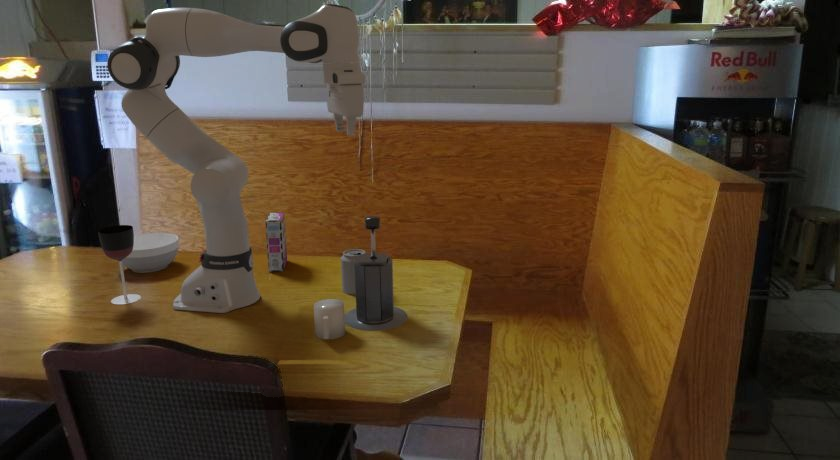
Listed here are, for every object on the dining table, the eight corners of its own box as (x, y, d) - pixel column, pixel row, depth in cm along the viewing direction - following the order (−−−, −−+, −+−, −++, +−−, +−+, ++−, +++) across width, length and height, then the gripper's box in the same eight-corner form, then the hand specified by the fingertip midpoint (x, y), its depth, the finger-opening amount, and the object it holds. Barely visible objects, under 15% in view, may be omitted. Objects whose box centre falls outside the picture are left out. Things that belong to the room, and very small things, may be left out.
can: (364, 298, 169) (363, 256, 165) (338, 296, 170) (336, 255, 167) (372, 288, 176) (371, 248, 172) (347, 286, 177) (345, 247, 174)
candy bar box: (285, 271, 190) (281, 220, 186) (268, 272, 190) (264, 221, 185) (288, 260, 201) (284, 211, 196) (272, 261, 200) (269, 212, 196)
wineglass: (149, 295, 172) (139, 226, 166) (122, 307, 164) (112, 235, 159) (128, 291, 175) (118, 223, 170) (102, 302, 167) (90, 231, 162)
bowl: (167, 277, 186) (163, 249, 184) (105, 277, 187) (101, 250, 184) (190, 257, 205) (187, 232, 202) (134, 258, 205) (130, 232, 203)
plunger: (360, 272, 148) (358, 221, 144) (362, 264, 154) (360, 214, 150) (385, 272, 148) (384, 220, 144) (387, 264, 154) (386, 214, 150)
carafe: (355, 324, 150) (352, 264, 146) (360, 306, 161) (357, 249, 157) (392, 324, 150) (391, 263, 146) (395, 305, 161) (393, 248, 157)
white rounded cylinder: (311, 347, 140) (309, 314, 138) (318, 329, 149) (316, 299, 147) (342, 346, 140) (340, 314, 138) (347, 329, 149) (345, 298, 147)
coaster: (339, 333, 147) (339, 330, 147) (347, 307, 162) (347, 304, 162) (406, 333, 147) (406, 330, 146) (408, 307, 162) (408, 304, 162)
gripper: (319, 75, 156) (322, 130, 160) (340, 76, 138) (343, 138, 142) (343, 74, 158) (346, 128, 162) (367, 76, 140) (370, 136, 144)
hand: (345, 133), depth 152 cm, fingers open, 8 cm apart
